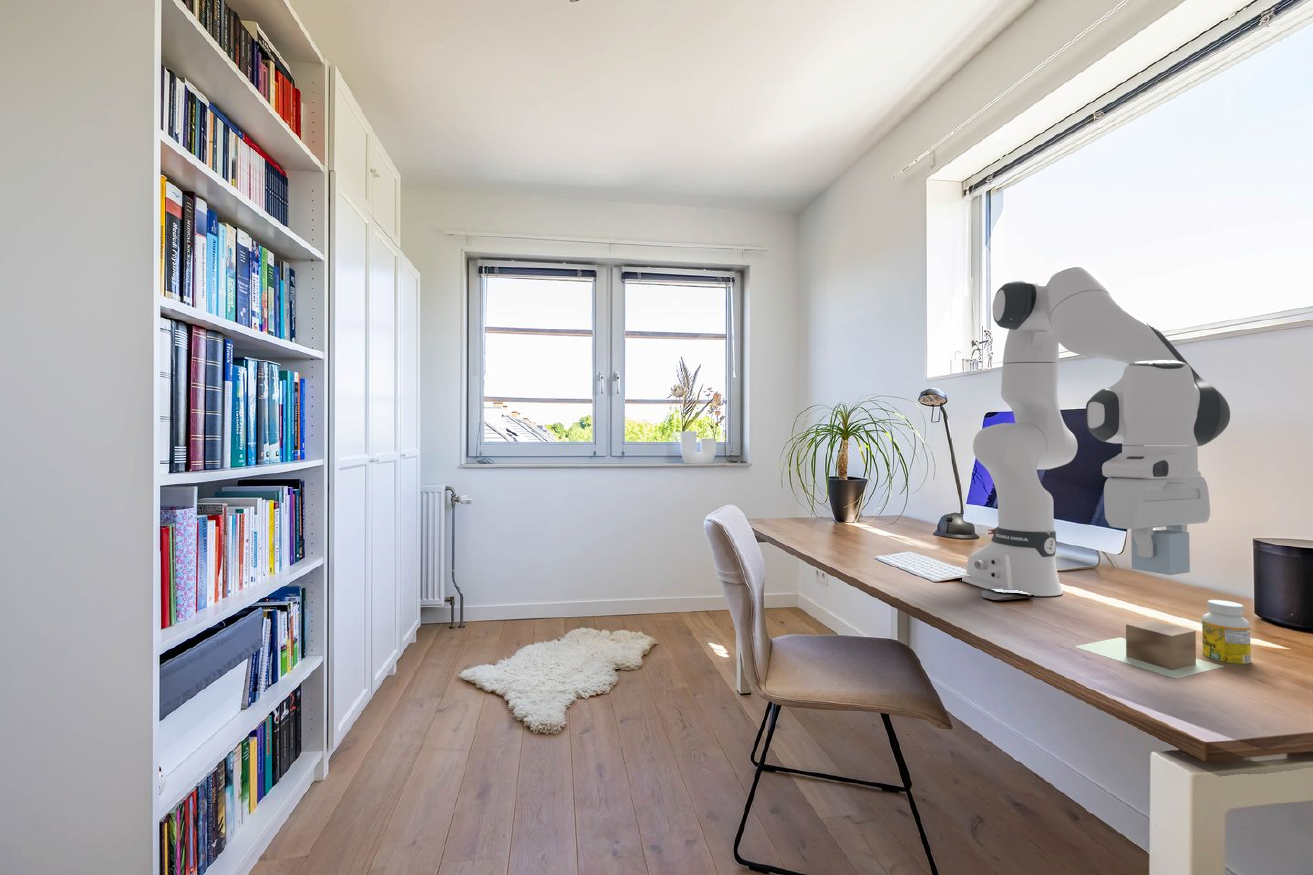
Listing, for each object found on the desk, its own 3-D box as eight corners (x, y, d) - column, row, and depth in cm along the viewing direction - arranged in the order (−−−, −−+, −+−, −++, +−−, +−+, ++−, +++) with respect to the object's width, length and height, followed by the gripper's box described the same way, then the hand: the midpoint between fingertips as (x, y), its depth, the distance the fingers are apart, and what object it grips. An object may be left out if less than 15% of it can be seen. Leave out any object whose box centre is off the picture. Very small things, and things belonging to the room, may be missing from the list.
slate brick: (1131, 568, 91) (1131, 529, 91) (1151, 566, 93) (1150, 528, 93) (1169, 575, 87) (1169, 534, 87) (1189, 572, 88) (1189, 532, 88)
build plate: (1073, 653, 96) (1073, 646, 96) (1120, 644, 100) (1120, 637, 100) (1176, 686, 83) (1176, 678, 83) (1224, 674, 87) (1224, 666, 87)
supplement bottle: (1258, 673, 88) (1258, 609, 88) (1212, 668, 90) (1212, 605, 90) (1238, 661, 93) (1238, 600, 93) (1195, 656, 95) (1195, 597, 95)
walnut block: (1126, 656, 91) (1125, 624, 91) (1149, 651, 94) (1149, 619, 94) (1171, 670, 86) (1171, 635, 86) (1195, 664, 88) (1195, 630, 88)
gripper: (1174, 463, 97) (1175, 547, 97) (1094, 465, 89) (1095, 556, 89) (1223, 464, 91) (1224, 554, 91) (1141, 466, 83) (1143, 564, 83)
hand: (1159, 555), depth 90 cm, fingers closed on slate brick, 5 cm apart
